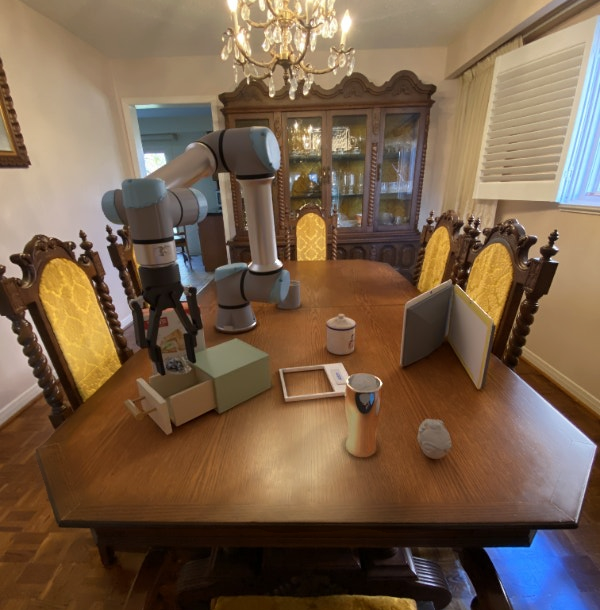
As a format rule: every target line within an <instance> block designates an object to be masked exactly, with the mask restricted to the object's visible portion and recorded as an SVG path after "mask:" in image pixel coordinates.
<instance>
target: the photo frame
mask: <svg viewBox="0 0 600 610" xmlns="http://www.w3.org/2000/svg"><path fill="white" fill-rule="evenodd" d="M321 369H322V370H324V372H325V374H326V377H327V379H328V381H329V383H330V386H331V388H332V390H333V391H328V392H318V393H310V394H301V395H300V394H299V395H291V396H288V392H287V388H286V383H285V378H284V373H292V372H302V371H304V372H305V371H312V370H321ZM278 370H279V372H278V373H279V377H280V382H281V388H282V392H283V396H284V397H283V398H284V402H285V403H287V402H295V401H296V402H297V401H305V400H313V399H325V398H333V397H343V396H345V389H346V380H347V378H348V377H349V376H350V375H349V374H348V372H347V370H346V368H345V366H344V364H343V362H336V363H326V364H317V365H305V366H295V367H287V368H286V367H285V368H279V369H278Z"/></svg>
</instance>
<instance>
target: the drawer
mask: <svg viewBox="0 0 600 610" xmlns="http://www.w3.org/2000/svg"><path fill="white" fill-rule="evenodd" d="M187 365H188V366H190V368H191V370H190V372H188V373H186V374H176V375H175V374H173V375H164V376H162V375H161V374H156V375H154V376H153V375H151V376H148V382H149V383H148V382H147V381H145V380H144V379H143V378H142V377H139V378H137V379H135V381H136V386H137V390H138V394H139V397H136V398H134V399H126V400H124V402H123V405H124V407H125V408H126V409H127V411H128V412H129V413H130V414H131V415H132V416H133V417H134V419H135V420H136V421H141V420H143V418H144V417H145V416H146V415H148V416H149V417H150V418H151V419H152V420H153V422H154V423H155V424H156V425H157V426H158V427H159V428H160V429H161V430H162V431H163V432H164V433H165V435H166V436H168V435H170V434H172V433H173V429H172V424H173V425H174V426H175V427H179V426H181V425H183V424H185V423H188V422H189V421H191V420H193V419H195V418H197V417H199V416H202V415H203V414H206V413H207V412H210V411H211V410H214V409H213V408H215V407H217V402H216V395H215V388H214V380H213V379H211V378H210V377H209V376H207V375H206V374H204V373H203V372H201V371H200V370H199V369H197V368H196V367H194V366H193V365H191V364H190V363H189V362H188V363H187ZM138 402H140V403H141V408H142V409H143V411H141V410H140V409H139V408H138V407H137V405H136V403H138ZM171 423H172V424H171Z"/></svg>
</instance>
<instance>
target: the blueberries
mask: <svg viewBox="0 0 600 610" xmlns="http://www.w3.org/2000/svg"><path fill="white" fill-rule="evenodd" d="M187 361H188V360H187V358H185V357H179V358H177V357H176V358H175V357H171V358H170V359H167V360H166V361H164V362H163V363H164V368H165V373H166V375H173V374H175V375H176V374H186V373H188V372H190V370H191V368H190V366H188V365H187Z"/></svg>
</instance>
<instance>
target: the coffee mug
mask: <svg viewBox="0 0 600 610" xmlns="http://www.w3.org/2000/svg"><path fill="white" fill-rule="evenodd" d="M276 304H277V307H278V308H279V309H282V310H293V309H297V308H300V306H301V283H300V281H298V280H297V279H295V280H294V279H290V284H289V290H288V293H287V296H286V298H285V299H284V301H283V302H281V303H276Z"/></svg>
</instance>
